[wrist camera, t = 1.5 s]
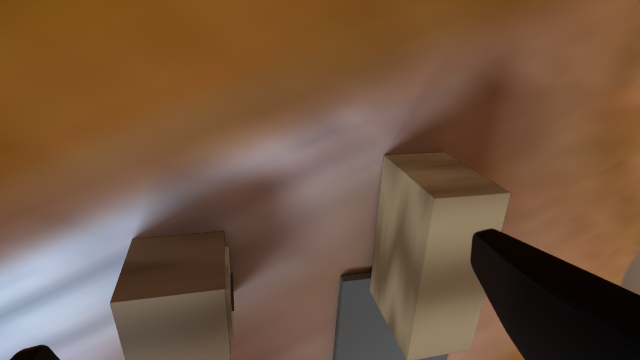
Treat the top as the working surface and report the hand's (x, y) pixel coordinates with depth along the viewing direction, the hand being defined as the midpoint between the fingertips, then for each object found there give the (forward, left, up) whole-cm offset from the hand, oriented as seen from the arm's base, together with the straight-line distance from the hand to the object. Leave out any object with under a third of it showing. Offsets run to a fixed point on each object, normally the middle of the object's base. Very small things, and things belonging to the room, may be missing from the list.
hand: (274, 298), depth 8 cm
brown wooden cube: (-10, +4, -13) cm, 17 cm away
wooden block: (-8, -10, -13) cm, 18 cm away
